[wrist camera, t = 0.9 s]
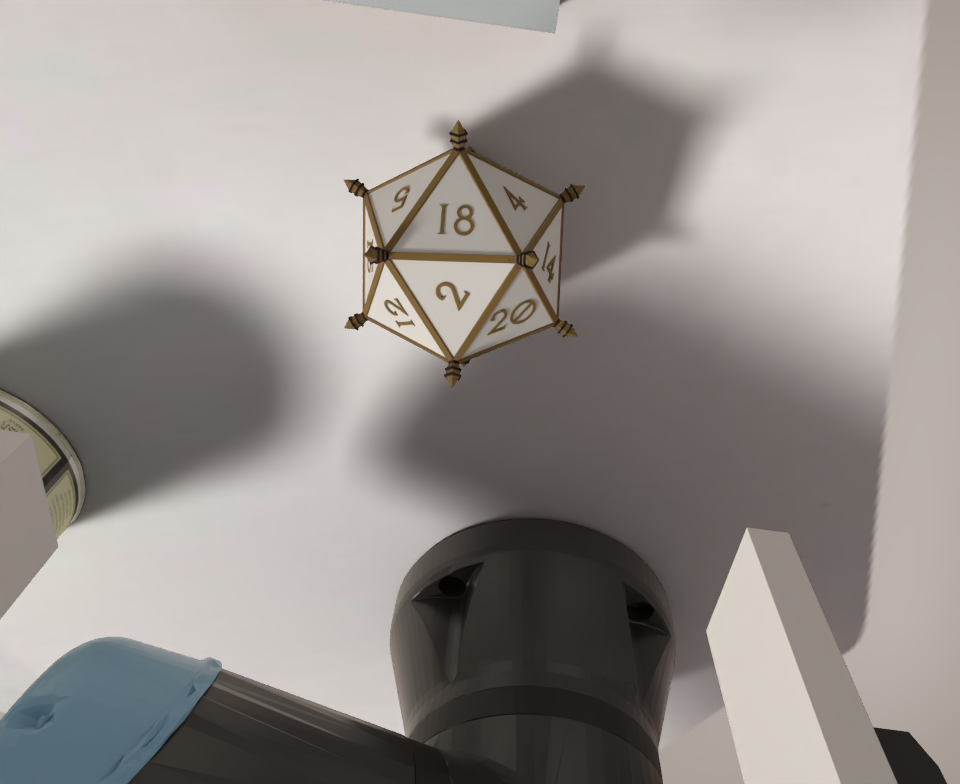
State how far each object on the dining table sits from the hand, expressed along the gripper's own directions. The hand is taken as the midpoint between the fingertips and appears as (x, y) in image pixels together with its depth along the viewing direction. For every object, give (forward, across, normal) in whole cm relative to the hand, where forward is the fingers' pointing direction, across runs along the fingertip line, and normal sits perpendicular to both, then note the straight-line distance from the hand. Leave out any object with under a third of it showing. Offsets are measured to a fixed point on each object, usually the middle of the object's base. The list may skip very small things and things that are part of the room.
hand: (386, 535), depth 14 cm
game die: (+19, 0, 0) cm, 19 cm away
